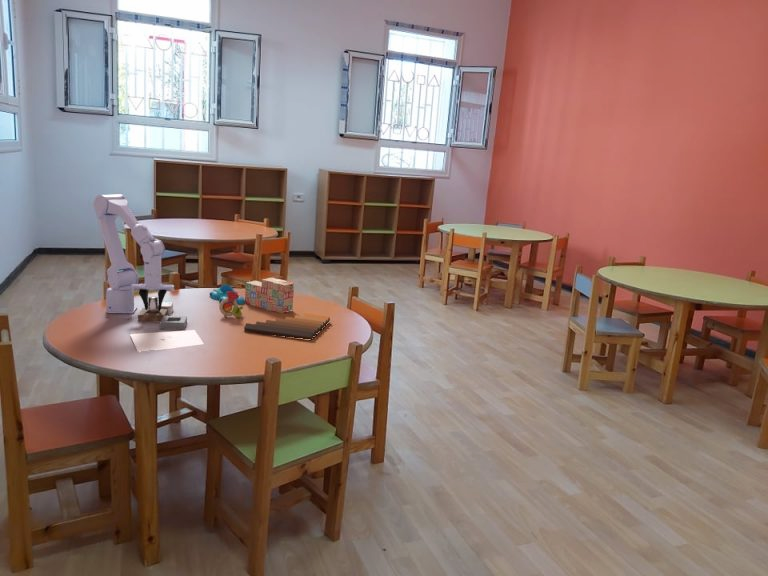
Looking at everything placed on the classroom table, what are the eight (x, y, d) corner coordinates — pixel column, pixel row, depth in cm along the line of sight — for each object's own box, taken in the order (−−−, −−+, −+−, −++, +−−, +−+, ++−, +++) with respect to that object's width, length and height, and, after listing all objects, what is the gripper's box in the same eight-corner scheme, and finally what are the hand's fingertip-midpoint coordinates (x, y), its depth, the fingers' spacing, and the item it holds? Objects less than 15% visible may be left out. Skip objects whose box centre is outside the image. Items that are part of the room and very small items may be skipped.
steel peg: (147, 319, 211) (147, 298, 209) (149, 316, 214) (149, 296, 212) (157, 319, 211) (156, 298, 210) (158, 317, 214) (158, 296, 213)
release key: (158, 313, 218) (158, 306, 217) (161, 308, 224) (161, 301, 224) (169, 313, 218) (169, 306, 218) (172, 308, 225) (172, 301, 225)
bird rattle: (227, 324, 219) (248, 314, 222) (215, 299, 215) (237, 290, 218) (224, 320, 225) (245, 310, 227) (213, 295, 221) (234, 286, 223)
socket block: (137, 321, 207) (137, 314, 207) (142, 314, 216) (142, 308, 215) (164, 321, 209) (164, 315, 209) (167, 315, 218) (167, 308, 217)
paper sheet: (202, 331, 203) (202, 329, 203) (213, 363, 178) (213, 360, 178) (129, 334, 193) (129, 331, 193) (131, 368, 168) (131, 365, 168)
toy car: (230, 294, 256) (231, 280, 255) (248, 304, 243) (248, 289, 241) (207, 296, 250) (207, 281, 248) (223, 307, 236) (223, 291, 234)
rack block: (160, 329, 201) (160, 322, 201) (163, 322, 209) (163, 315, 208) (184, 329, 203) (184, 322, 202) (186, 322, 211) (187, 316, 210)
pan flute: (243, 333, 206) (310, 342, 202) (244, 324, 205) (310, 333, 201) (269, 315, 230) (329, 323, 226) (270, 307, 229) (330, 315, 225)
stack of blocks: (244, 303, 243) (245, 275, 240) (254, 301, 248) (255, 273, 246) (282, 314, 233) (284, 284, 230) (292, 311, 238) (294, 282, 235)
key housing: (156, 314, 217) (156, 306, 217) (159, 310, 223) (159, 301, 222) (170, 314, 218) (170, 306, 218) (173, 310, 224) (173, 302, 223)
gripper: (129, 275, 203) (129, 311, 206) (172, 276, 207) (172, 312, 210) (133, 271, 210) (133, 306, 213) (175, 272, 213) (174, 307, 216)
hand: (153, 309), depth 212 cm, fingers open, 4 cm apart
